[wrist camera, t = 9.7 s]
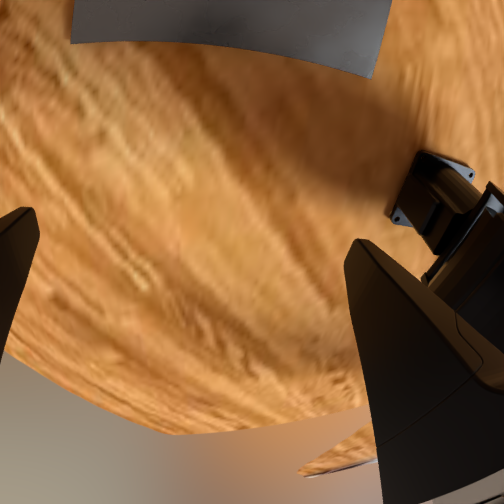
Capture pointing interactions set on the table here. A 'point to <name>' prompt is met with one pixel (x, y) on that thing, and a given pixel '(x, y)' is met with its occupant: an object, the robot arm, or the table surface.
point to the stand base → (246, 26)
